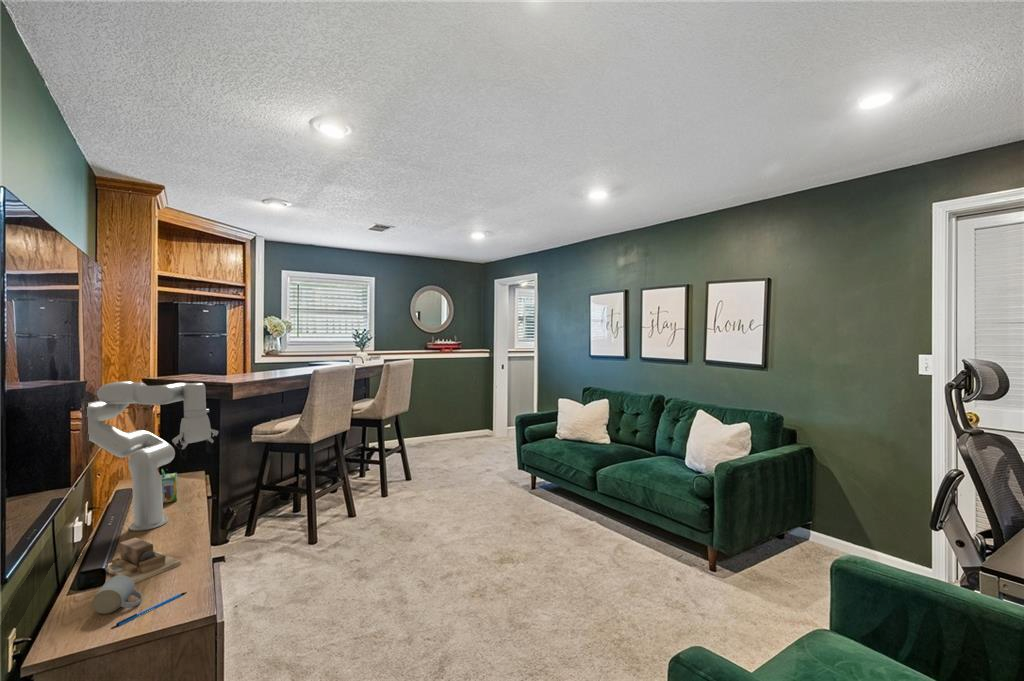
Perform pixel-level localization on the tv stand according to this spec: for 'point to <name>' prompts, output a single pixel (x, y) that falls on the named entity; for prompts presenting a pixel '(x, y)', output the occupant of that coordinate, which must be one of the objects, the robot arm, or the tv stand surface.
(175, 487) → the chalk box
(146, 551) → the brown wooden block
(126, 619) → the pen
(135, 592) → the ceramic mug
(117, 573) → the jig
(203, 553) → the tv stand surface
